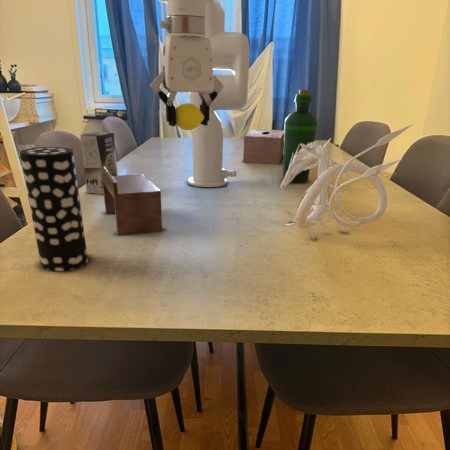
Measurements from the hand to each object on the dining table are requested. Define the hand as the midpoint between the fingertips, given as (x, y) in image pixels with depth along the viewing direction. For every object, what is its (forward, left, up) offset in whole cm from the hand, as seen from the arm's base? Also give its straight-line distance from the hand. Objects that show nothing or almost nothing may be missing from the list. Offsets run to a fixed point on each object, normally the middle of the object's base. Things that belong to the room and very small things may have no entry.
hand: (188, 124), depth 94 cm
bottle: (-48, -32, -22) cm, 62 cm away
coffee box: (+15, -37, -22) cm, 46 cm away
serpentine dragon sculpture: (-28, +18, -22) cm, 40 cm away
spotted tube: (+30, +16, -22) cm, 41 cm away
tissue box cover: (-58, -75, -22) cm, 97 cm away
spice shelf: (+13, -5, -22) cm, 26 cm away
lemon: (0, 0, -1) cm, 1 cm away
